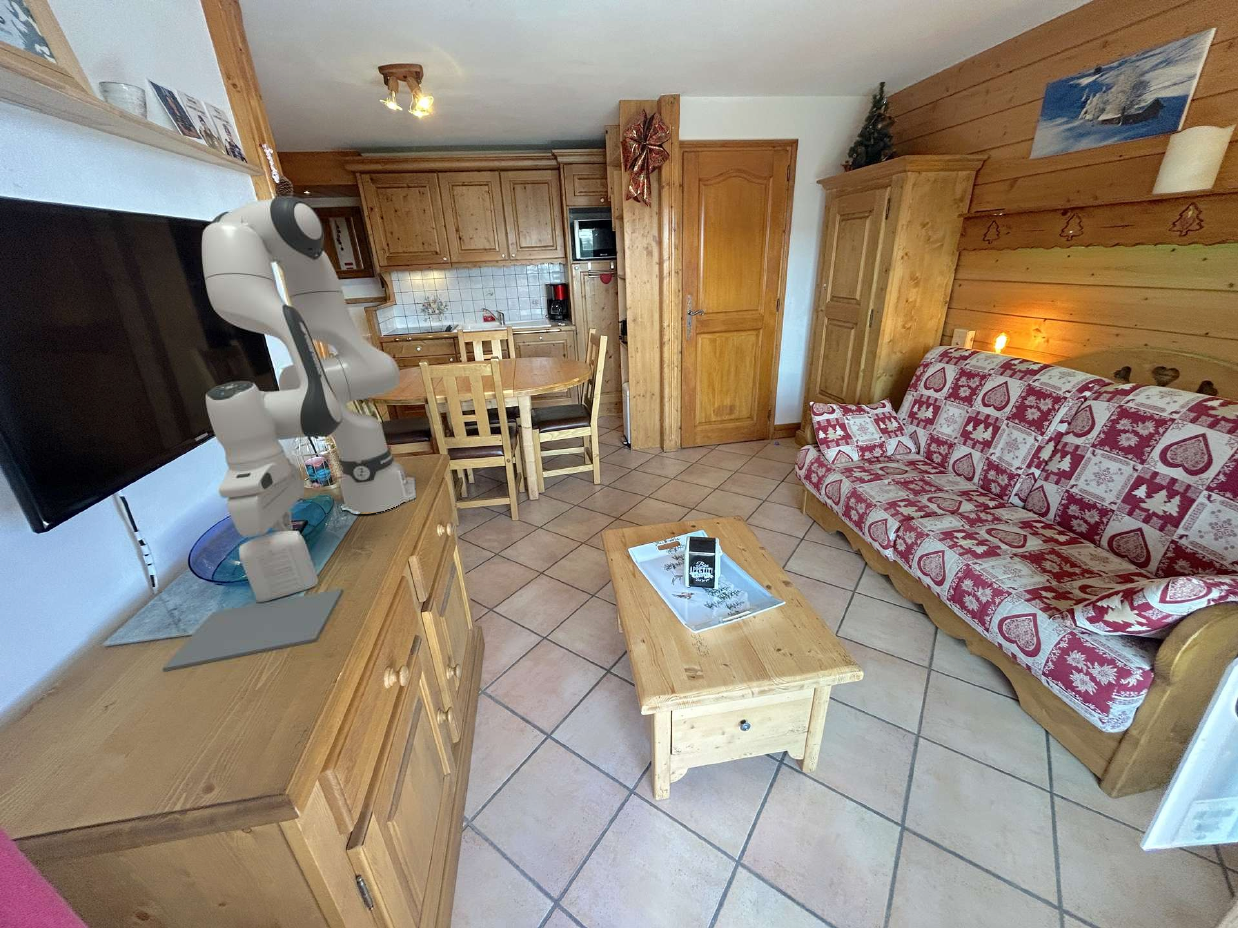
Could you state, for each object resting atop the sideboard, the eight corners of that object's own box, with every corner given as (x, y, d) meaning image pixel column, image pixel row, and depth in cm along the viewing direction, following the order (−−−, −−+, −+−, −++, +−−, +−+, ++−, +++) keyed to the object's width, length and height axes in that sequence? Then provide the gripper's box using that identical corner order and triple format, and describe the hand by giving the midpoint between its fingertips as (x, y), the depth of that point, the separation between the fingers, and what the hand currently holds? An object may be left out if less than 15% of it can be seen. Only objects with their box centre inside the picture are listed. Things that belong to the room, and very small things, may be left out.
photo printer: (319, 576, 97) (300, 522, 92) (319, 587, 93) (298, 531, 89) (259, 595, 92) (235, 539, 88) (256, 606, 89) (231, 549, 84)
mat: (214, 614, 88) (212, 612, 87) (343, 591, 91) (342, 588, 91) (163, 671, 75) (162, 668, 74) (316, 641, 78) (315, 638, 78)
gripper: (268, 454, 99) (290, 513, 104) (212, 494, 80) (242, 564, 85) (301, 450, 100) (321, 509, 105) (253, 488, 81) (281, 557, 87)
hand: (285, 534), depth 95 cm, fingers closed
